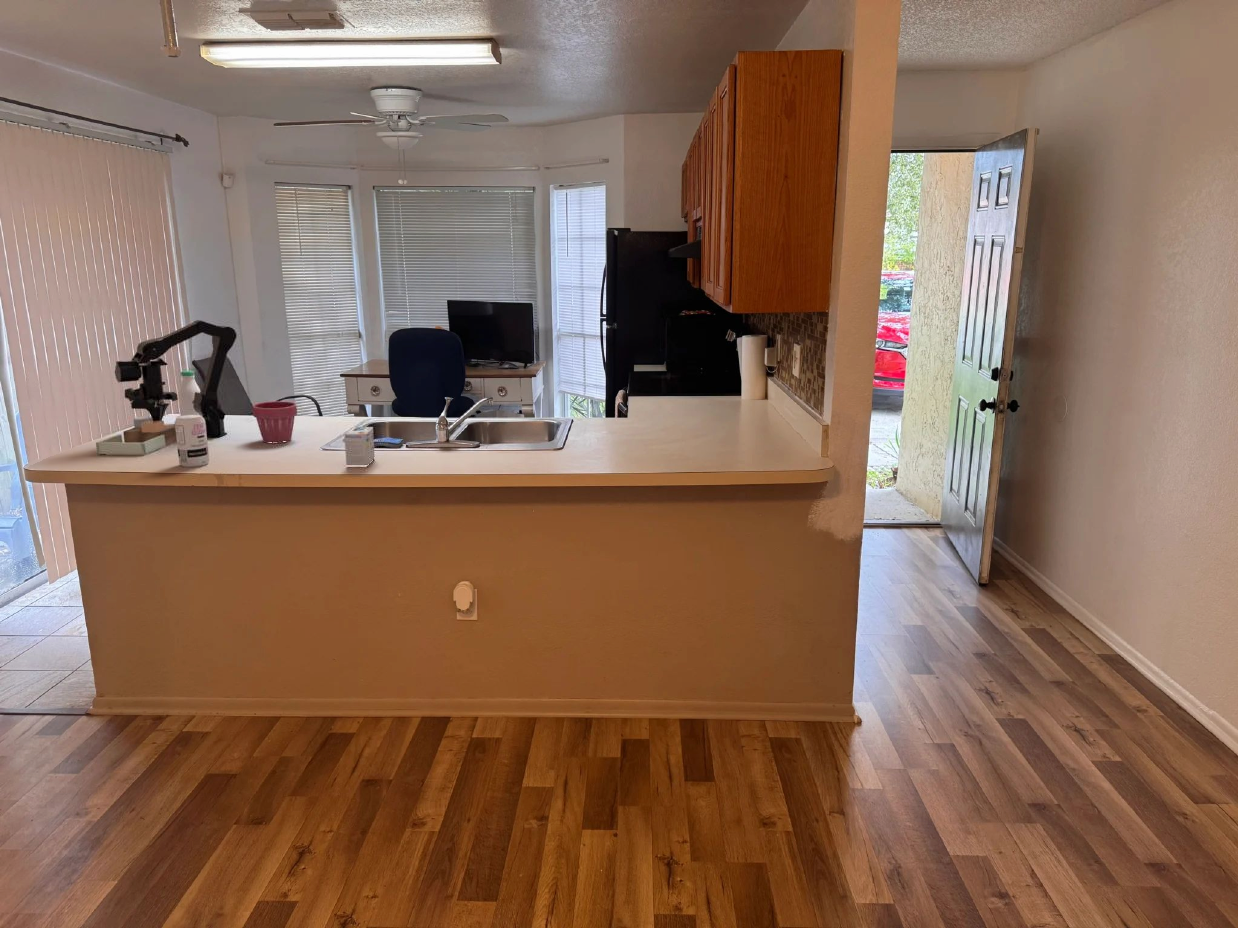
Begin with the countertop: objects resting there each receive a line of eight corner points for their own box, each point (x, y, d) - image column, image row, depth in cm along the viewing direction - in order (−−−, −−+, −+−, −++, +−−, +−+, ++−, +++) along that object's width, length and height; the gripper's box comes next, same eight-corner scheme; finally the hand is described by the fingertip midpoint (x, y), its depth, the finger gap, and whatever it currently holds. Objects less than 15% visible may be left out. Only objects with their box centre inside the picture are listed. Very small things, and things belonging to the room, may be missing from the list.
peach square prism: (164, 429, 284) (163, 420, 284) (157, 432, 279) (156, 423, 279) (149, 429, 284) (148, 420, 283) (141, 432, 279) (140, 423, 279)
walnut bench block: (181, 439, 293) (180, 425, 292) (164, 446, 282) (162, 431, 280) (144, 438, 293) (142, 424, 292) (125, 446, 281) (123, 431, 280)
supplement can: (186, 461, 262) (180, 414, 259) (213, 461, 263) (208, 413, 259) (174, 467, 254) (169, 418, 251) (203, 467, 255) (198, 418, 251)
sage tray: (165, 446, 282) (164, 434, 281) (144, 455, 269) (143, 443, 268) (120, 446, 281) (119, 434, 280) (97, 455, 269) (95, 442, 268)
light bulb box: (353, 460, 267) (351, 426, 264) (375, 459, 268) (373, 426, 265) (345, 468, 257) (343, 433, 254) (368, 468, 257) (366, 433, 255)
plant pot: (301, 443, 289) (298, 406, 286) (257, 446, 283) (253, 409, 280) (296, 435, 302) (294, 400, 299) (254, 438, 296) (251, 402, 293)
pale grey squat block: (157, 425, 291) (156, 416, 290) (149, 428, 286) (148, 419, 285) (142, 425, 291) (141, 416, 290) (134, 428, 286) (133, 419, 285)
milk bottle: (195, 425, 316) (189, 372, 311) (177, 424, 317) (171, 372, 313) (208, 422, 323) (203, 370, 318) (191, 421, 325) (185, 369, 320)
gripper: (143, 375, 290) (148, 419, 294) (111, 383, 272) (118, 430, 276) (175, 375, 290) (180, 420, 294) (146, 383, 272) (152, 431, 276)
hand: (157, 425), depth 285 cm, fingers closed
